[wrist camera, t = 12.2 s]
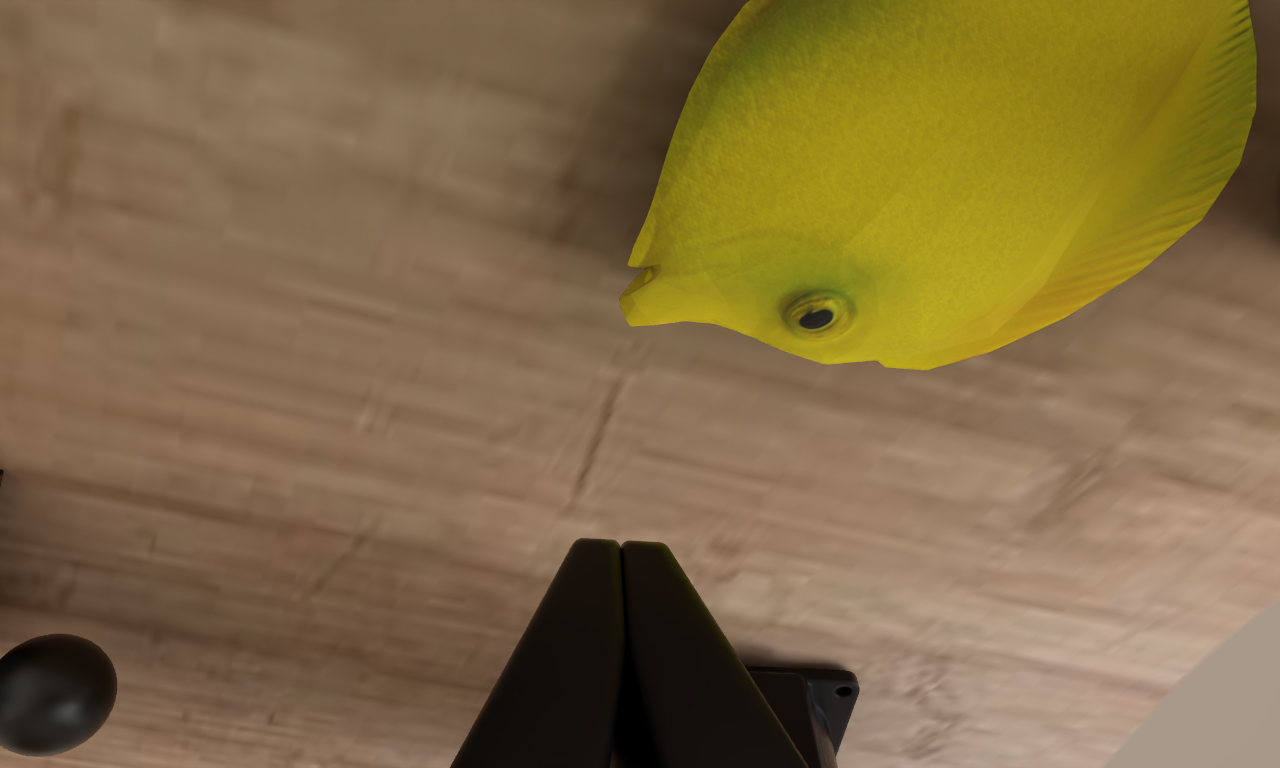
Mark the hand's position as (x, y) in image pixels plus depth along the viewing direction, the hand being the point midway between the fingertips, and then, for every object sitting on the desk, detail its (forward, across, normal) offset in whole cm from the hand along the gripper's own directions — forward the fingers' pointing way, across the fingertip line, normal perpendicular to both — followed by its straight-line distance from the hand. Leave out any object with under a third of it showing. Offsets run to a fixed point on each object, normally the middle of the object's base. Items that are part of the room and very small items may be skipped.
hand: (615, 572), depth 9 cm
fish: (+12, -3, -4) cm, 13 cm away
